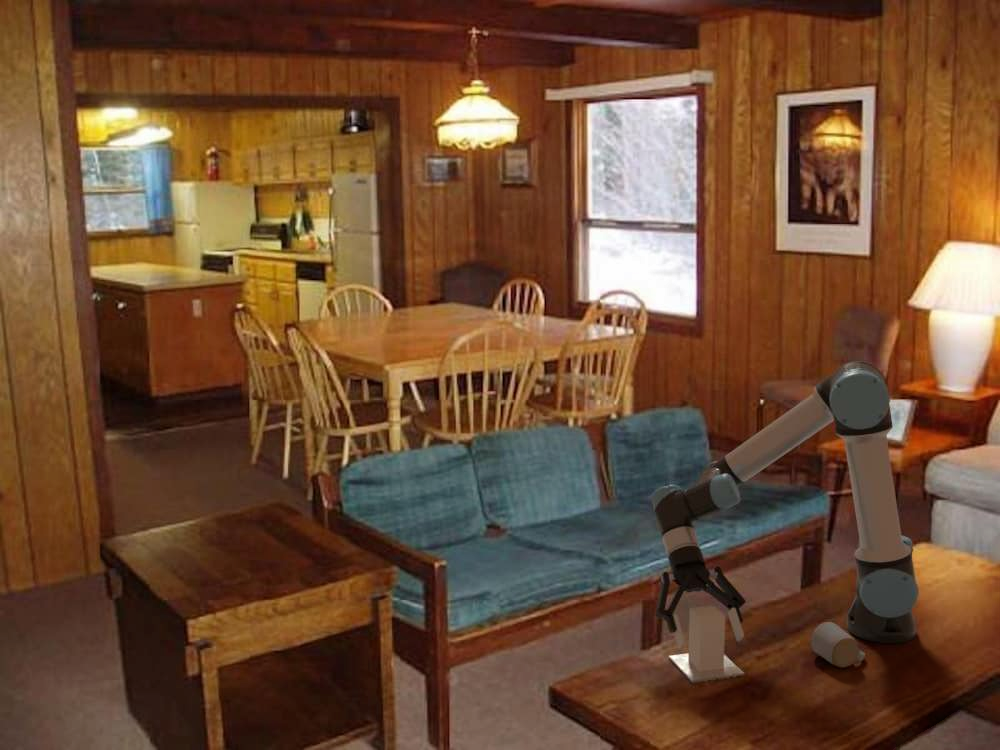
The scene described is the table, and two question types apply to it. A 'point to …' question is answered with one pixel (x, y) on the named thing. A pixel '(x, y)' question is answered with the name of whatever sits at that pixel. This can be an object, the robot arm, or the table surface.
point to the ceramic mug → (835, 645)
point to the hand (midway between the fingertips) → (711, 642)
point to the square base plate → (701, 676)
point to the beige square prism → (706, 638)
